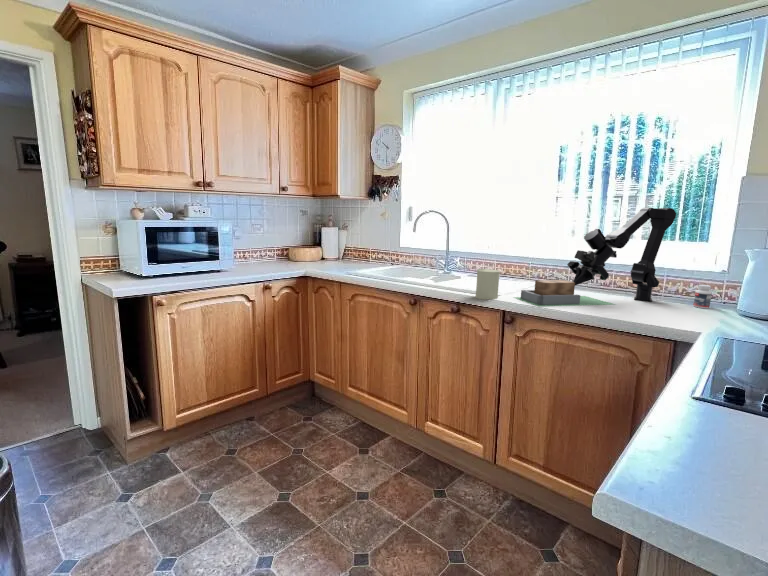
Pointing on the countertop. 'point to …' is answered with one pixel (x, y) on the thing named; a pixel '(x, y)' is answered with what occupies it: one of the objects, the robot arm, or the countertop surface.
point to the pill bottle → (702, 296)
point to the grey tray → (549, 298)
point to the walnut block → (554, 287)
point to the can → (487, 284)
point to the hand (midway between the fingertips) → (573, 284)
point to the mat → (583, 301)
